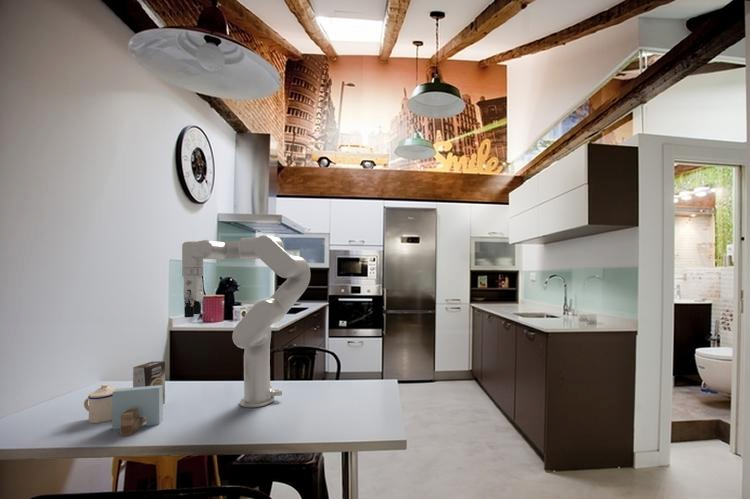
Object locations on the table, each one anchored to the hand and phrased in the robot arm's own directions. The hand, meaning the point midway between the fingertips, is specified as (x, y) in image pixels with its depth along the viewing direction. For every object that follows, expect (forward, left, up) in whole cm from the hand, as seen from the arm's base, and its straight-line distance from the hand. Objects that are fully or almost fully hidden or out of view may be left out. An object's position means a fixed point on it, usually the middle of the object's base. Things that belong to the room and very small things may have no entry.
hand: (193, 315), depth 143 cm
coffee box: (+15, +2, -34) cm, 37 cm away
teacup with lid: (+28, +9, -34) cm, 45 cm away
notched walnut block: (+12, +19, -33) cm, 40 cm away
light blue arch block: (+12, +19, -33) cm, 40 cm away
